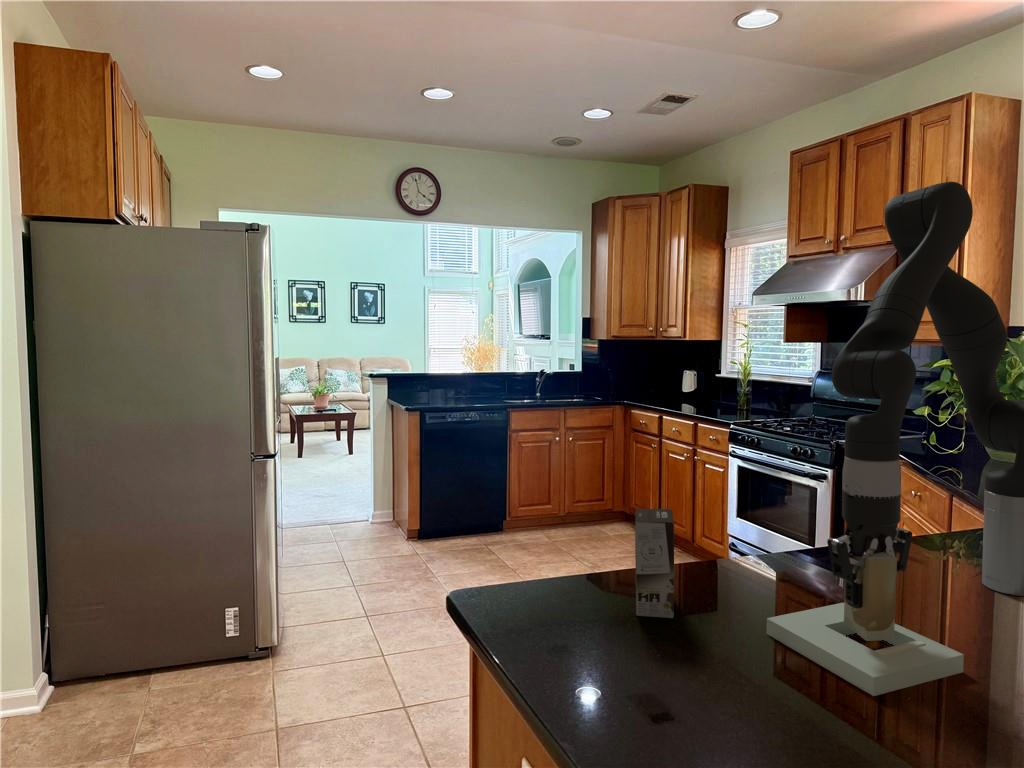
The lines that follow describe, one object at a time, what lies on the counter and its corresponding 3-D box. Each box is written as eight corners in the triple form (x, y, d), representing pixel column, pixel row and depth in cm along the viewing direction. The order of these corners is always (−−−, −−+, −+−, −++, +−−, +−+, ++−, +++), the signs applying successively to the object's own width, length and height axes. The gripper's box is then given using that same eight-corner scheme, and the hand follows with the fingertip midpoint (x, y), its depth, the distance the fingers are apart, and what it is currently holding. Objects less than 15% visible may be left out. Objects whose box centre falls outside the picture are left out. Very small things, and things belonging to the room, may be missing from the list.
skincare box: (842, 623, 106) (843, 544, 105) (870, 622, 106) (871, 543, 105) (867, 643, 99) (868, 558, 98) (896, 641, 100) (898, 556, 99)
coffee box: (675, 619, 115) (674, 522, 114) (635, 616, 116) (634, 521, 115) (673, 597, 124) (673, 508, 123) (636, 595, 125) (635, 507, 124)
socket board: (846, 616, 114) (847, 600, 114) (963, 672, 95) (963, 653, 95) (766, 633, 109) (766, 617, 108) (873, 696, 90) (873, 675, 90)
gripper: (886, 478, 107) (885, 587, 108) (812, 488, 102) (811, 601, 103) (931, 488, 100) (928, 605, 101) (853, 499, 95) (851, 621, 96)
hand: (869, 602), depth 102 cm, fingers closed on skincare box, 5 cm apart
